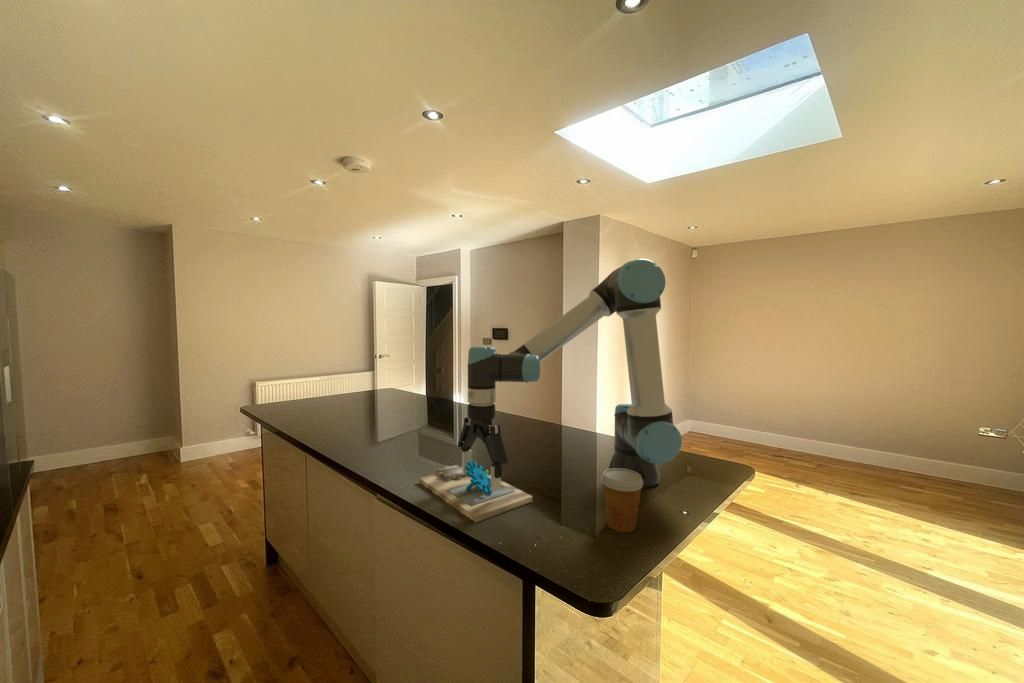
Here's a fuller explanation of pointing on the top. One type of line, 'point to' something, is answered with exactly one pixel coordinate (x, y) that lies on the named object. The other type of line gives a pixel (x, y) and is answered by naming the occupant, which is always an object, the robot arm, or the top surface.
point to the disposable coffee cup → (621, 498)
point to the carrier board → (473, 494)
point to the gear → (478, 477)
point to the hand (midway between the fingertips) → (480, 481)
